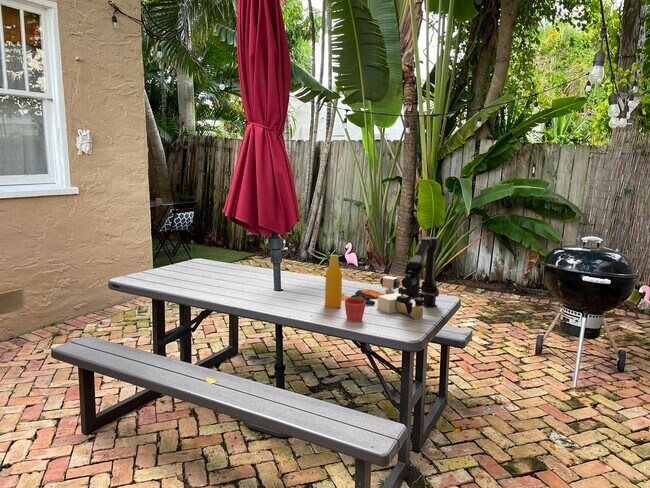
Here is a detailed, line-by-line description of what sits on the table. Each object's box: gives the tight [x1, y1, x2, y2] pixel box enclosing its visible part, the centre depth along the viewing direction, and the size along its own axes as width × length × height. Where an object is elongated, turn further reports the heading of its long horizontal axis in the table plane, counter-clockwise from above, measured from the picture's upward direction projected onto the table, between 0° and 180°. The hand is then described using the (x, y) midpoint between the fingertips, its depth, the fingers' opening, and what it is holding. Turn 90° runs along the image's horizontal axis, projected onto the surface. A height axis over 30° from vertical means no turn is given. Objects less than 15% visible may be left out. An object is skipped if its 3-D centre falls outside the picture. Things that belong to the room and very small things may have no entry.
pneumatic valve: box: [379, 275, 401, 295], centre depth 289 cm, size 6×12×12 cm, turn 51°
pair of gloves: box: [341, 289, 386, 306], centre depth 279 cm, size 27×24×3 cm
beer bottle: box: [324, 254, 343, 309], centre depth 260 cm, size 9×9×29 cm
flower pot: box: [344, 299, 367, 323], centre depth 238 cm, size 11×11×10 cm
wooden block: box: [395, 300, 424, 320], centre depth 249 cm, size 6×17×6 cm, turn 33°
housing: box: [377, 292, 408, 314], centre depth 258 cm, size 14×10×7 cm
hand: (412, 313), depth 246 cm, fingers closed on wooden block, 5 cm apart
